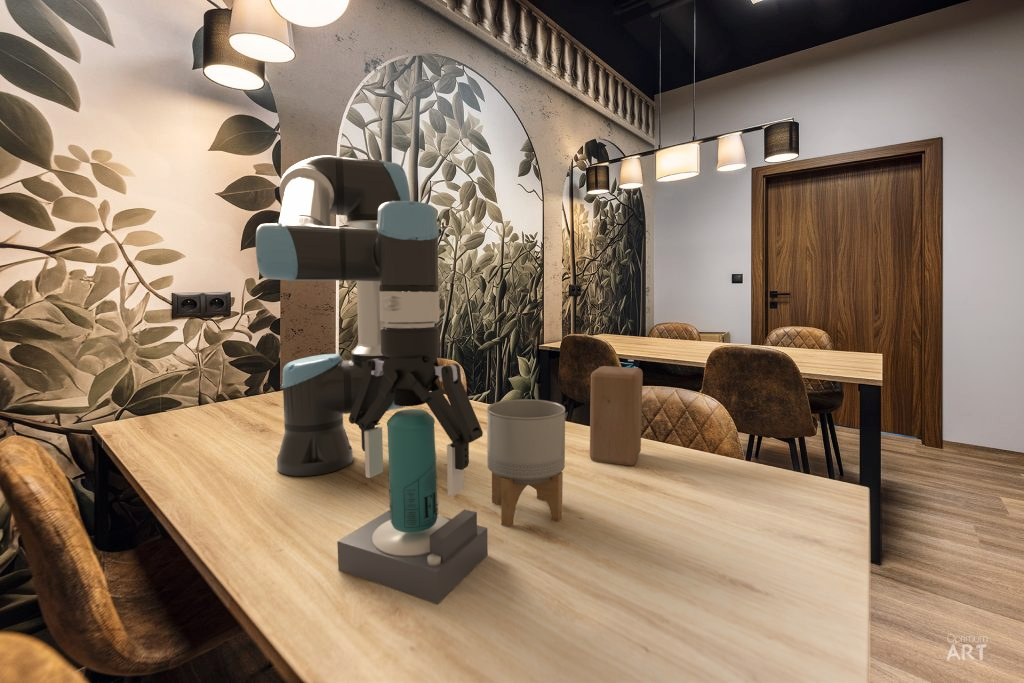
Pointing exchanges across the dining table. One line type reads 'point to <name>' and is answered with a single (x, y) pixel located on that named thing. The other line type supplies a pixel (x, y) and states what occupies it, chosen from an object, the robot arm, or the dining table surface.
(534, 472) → the planter
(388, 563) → the domed button base
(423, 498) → the beverage bottle
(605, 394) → the wooden block
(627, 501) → the dining table surface
